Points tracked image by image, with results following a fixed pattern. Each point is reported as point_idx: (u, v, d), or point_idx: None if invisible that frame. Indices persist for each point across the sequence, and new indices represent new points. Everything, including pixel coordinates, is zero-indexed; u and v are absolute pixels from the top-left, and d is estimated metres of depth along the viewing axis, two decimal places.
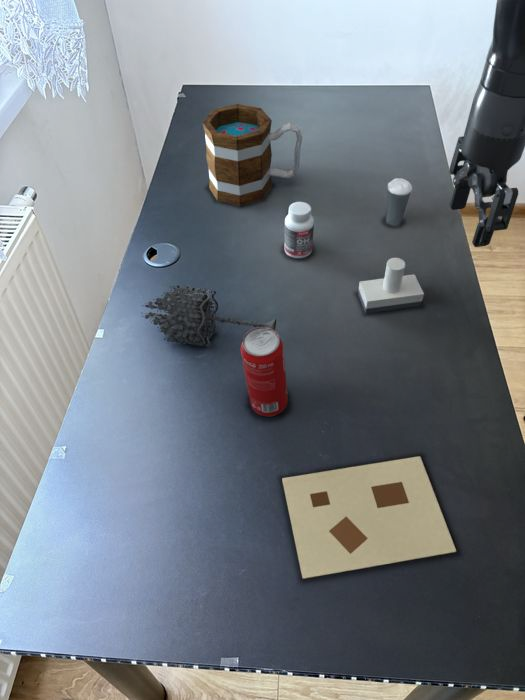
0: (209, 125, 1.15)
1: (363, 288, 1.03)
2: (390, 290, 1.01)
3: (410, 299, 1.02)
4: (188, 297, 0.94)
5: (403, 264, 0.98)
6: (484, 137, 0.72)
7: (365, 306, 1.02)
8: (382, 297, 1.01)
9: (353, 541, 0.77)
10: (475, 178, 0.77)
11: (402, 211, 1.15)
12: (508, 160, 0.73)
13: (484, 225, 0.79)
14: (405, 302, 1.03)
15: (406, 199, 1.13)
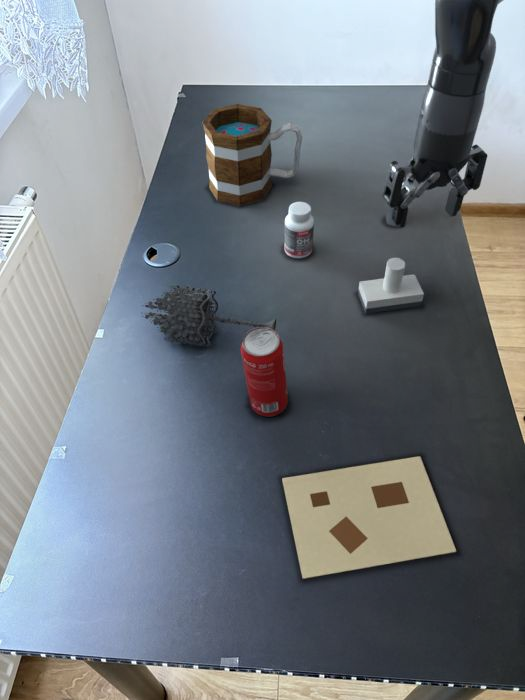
0: (209, 125, 1.15)
1: (363, 288, 1.03)
2: (390, 290, 1.01)
3: (410, 299, 1.02)
4: (188, 297, 0.94)
5: (403, 264, 0.98)
6: None
7: (365, 306, 1.02)
8: (382, 297, 1.01)
9: (353, 541, 0.77)
10: None
11: None
12: (419, 147, 0.79)
13: None
14: (405, 302, 1.03)
15: None
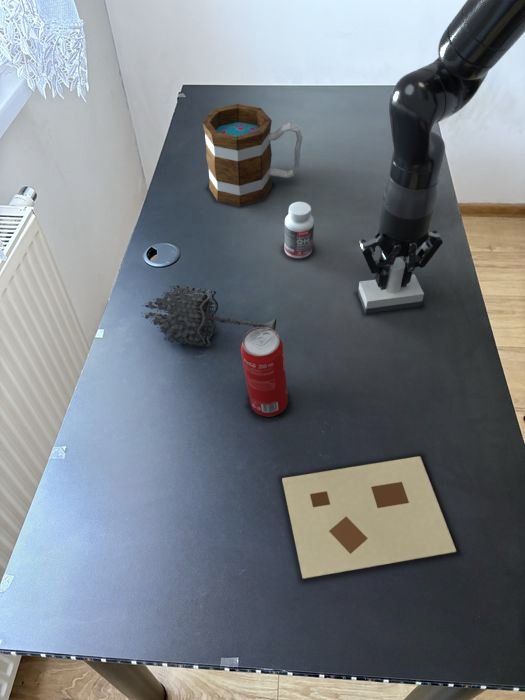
0: (209, 125, 1.15)
1: (363, 288, 1.03)
2: (390, 290, 1.01)
3: (410, 299, 1.02)
4: (188, 297, 0.94)
5: (403, 264, 0.98)
6: None
7: (365, 306, 1.02)
8: (382, 297, 1.01)
9: (353, 541, 0.77)
10: None
11: None
12: (382, 224, 0.91)
13: None
14: (405, 302, 1.03)
15: None
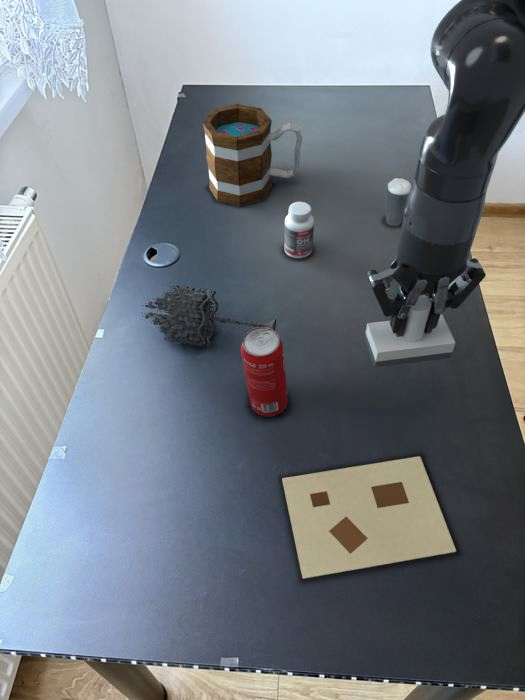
0: (209, 125, 1.15)
1: (372, 333, 0.75)
2: (409, 337, 0.74)
3: (436, 349, 0.75)
4: (188, 297, 0.94)
5: (428, 303, 0.71)
6: None
7: (374, 358, 0.75)
8: (398, 347, 0.74)
9: (353, 541, 0.77)
10: None
11: (402, 211, 1.15)
12: (401, 250, 0.64)
13: None
14: (429, 353, 0.75)
15: (406, 199, 1.13)
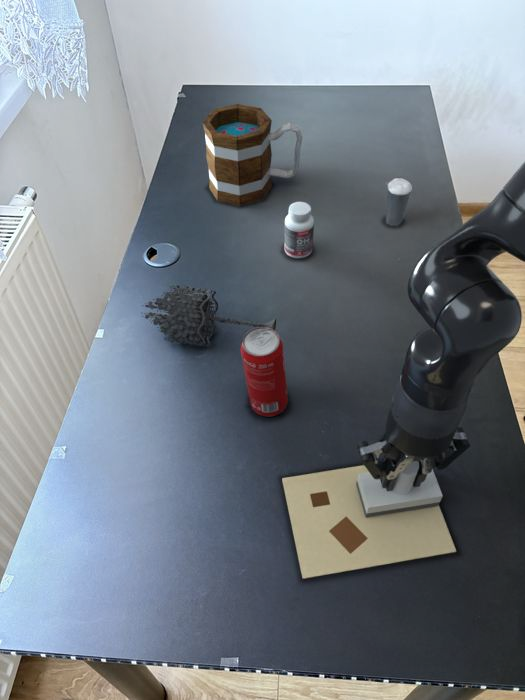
0: (209, 125, 1.15)
1: (363, 485, 0.79)
2: (398, 491, 0.77)
3: (424, 501, 0.78)
4: (188, 297, 0.94)
5: (416, 465, 0.74)
6: None
7: (365, 510, 0.78)
8: (388, 501, 0.77)
9: (353, 541, 0.77)
10: None
11: (402, 211, 1.15)
12: (389, 432, 0.67)
13: None
14: (418, 504, 0.78)
15: (406, 199, 1.13)
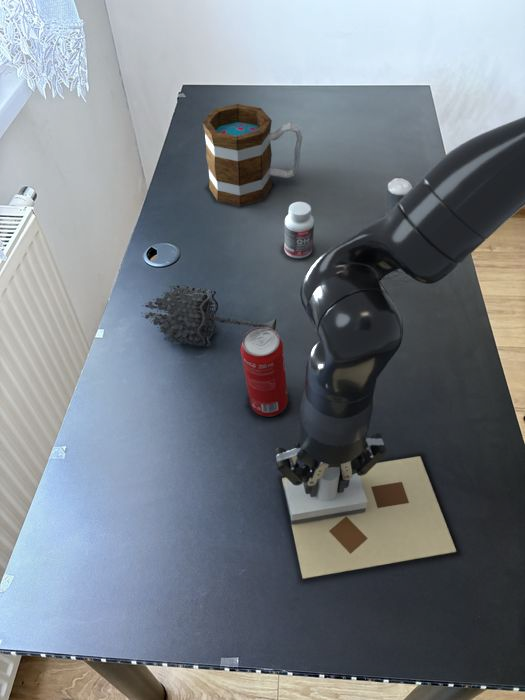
0: (209, 125, 1.15)
1: (288, 492, 0.78)
2: (323, 498, 0.77)
3: (350, 508, 0.78)
4: (188, 297, 0.94)
5: (337, 471, 0.74)
6: None
7: (291, 517, 0.78)
8: (312, 508, 0.77)
9: (353, 541, 0.77)
10: None
11: None
12: (301, 439, 0.67)
13: None
14: (343, 511, 0.78)
15: None
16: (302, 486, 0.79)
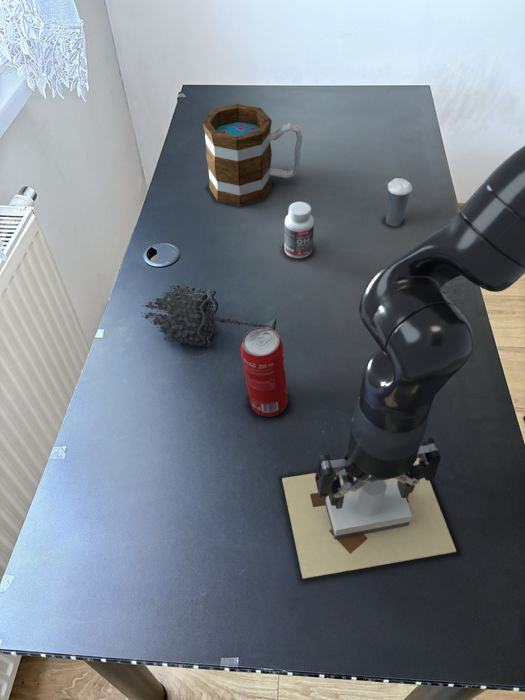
0: (209, 125, 1.15)
1: (331, 506, 0.77)
2: (367, 513, 0.76)
3: (394, 522, 0.76)
4: (188, 297, 0.94)
5: (383, 486, 0.73)
6: None
7: (334, 532, 0.77)
8: (357, 523, 0.75)
9: (353, 541, 0.77)
10: None
11: (402, 211, 1.15)
12: (351, 452, 0.65)
13: None
14: (387, 525, 0.77)
15: (406, 199, 1.13)
16: (345, 500, 0.77)
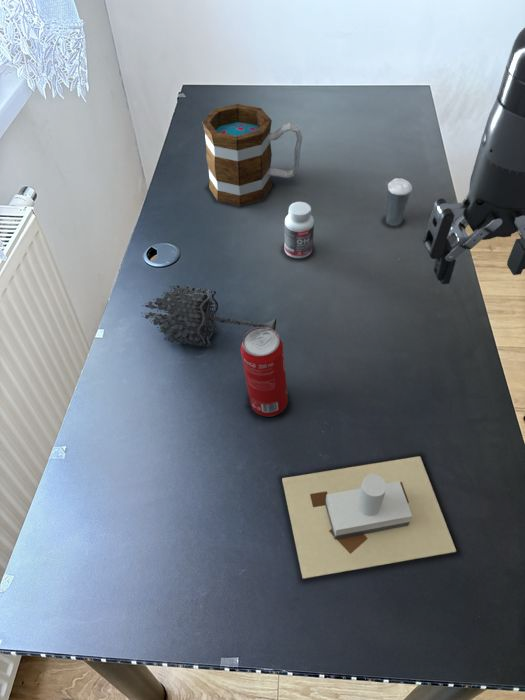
0: (209, 125, 1.15)
1: (331, 506, 0.77)
2: (367, 513, 0.76)
3: (394, 522, 0.76)
4: (188, 297, 0.94)
5: (383, 486, 0.73)
6: None
7: (334, 532, 0.77)
8: (357, 523, 0.75)
9: (353, 541, 0.77)
10: None
11: (402, 211, 1.15)
12: (476, 184, 0.58)
13: None
14: (387, 525, 0.77)
15: (406, 199, 1.13)
16: (345, 500, 0.77)
